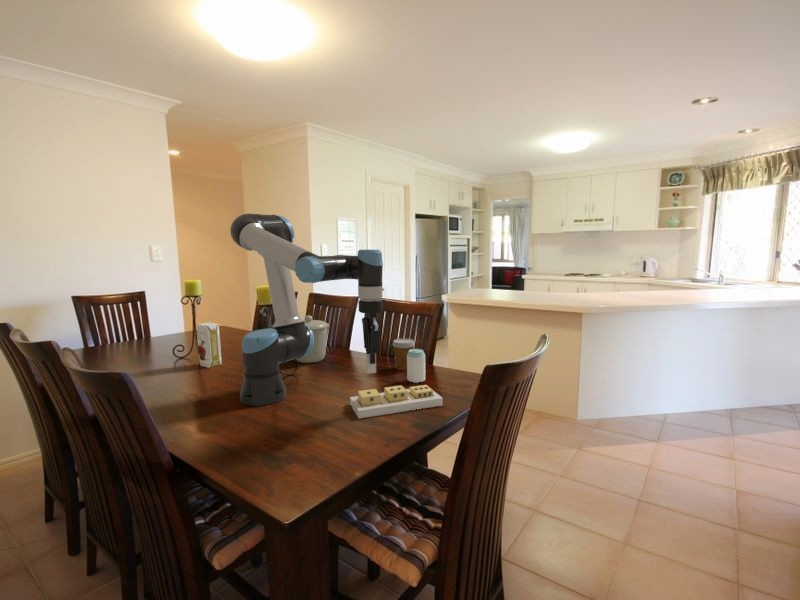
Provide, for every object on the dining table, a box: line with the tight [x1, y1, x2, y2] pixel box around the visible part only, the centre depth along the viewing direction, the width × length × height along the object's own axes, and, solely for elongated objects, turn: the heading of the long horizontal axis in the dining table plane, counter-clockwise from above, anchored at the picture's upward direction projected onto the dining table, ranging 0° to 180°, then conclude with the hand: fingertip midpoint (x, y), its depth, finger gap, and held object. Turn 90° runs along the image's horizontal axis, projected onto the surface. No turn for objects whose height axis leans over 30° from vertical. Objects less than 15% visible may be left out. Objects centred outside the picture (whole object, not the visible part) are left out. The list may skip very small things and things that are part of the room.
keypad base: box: [349, 388, 444, 420], centre depth 132 cm, size 28×12×2 cm, turn 109°
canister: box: [295, 314, 330, 364], centre depth 185 cm, size 18×18×21 cm
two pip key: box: [383, 385, 408, 403], centre depth 131 cm, size 6×6×4 cm
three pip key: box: [409, 384, 434, 399], centre depth 134 cm, size 6×6×4 cm
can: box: [406, 348, 426, 384], centre depth 155 cm, size 7×7×12 cm
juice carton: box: [196, 321, 222, 369], centre depth 179 cm, size 8×9×19 cm
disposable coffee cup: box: [391, 338, 416, 371], centre depth 171 cm, size 10×10×12 cm
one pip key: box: [357, 388, 381, 407], centre depth 128 cm, size 6×6×4 cm
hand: (371, 372), depth 128 cm, fingers closed
